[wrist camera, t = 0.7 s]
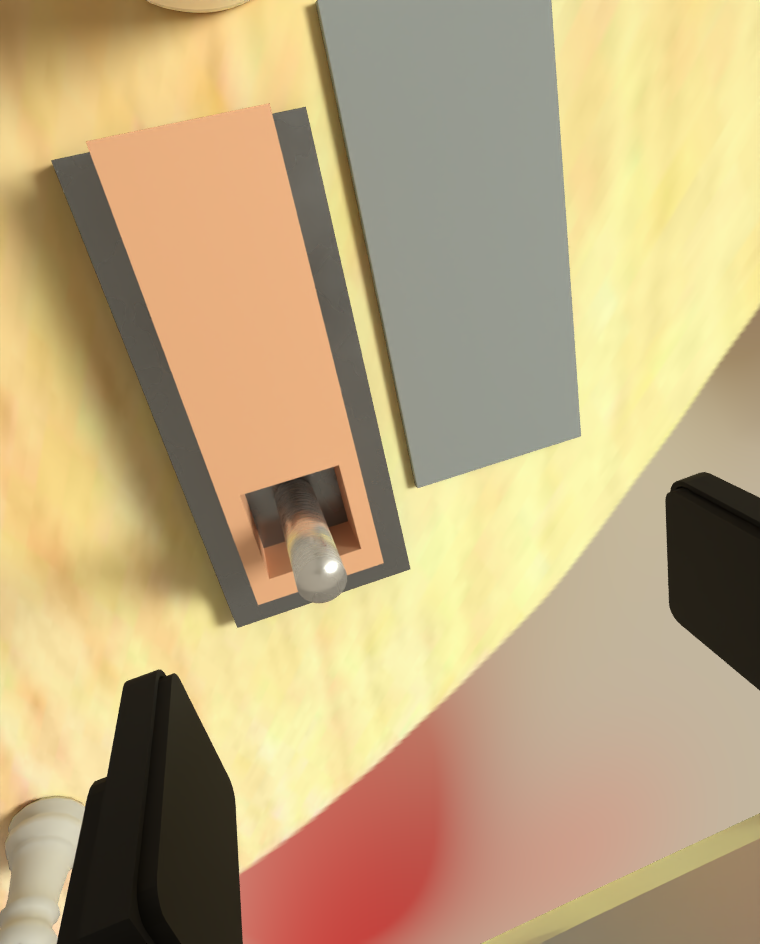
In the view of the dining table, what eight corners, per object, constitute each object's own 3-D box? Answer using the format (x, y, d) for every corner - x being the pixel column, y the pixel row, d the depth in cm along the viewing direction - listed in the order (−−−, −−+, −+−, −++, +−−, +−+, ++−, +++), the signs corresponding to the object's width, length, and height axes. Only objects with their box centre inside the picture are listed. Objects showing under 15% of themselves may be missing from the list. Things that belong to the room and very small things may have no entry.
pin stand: (56, 162, 24) (-19, 134, 16) (302, 110, 25) (347, 61, 17) (236, 617, 34) (246, 741, 26) (405, 560, 35) (464, 661, 27)
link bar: (99, 150, 23) (85, 141, 20) (262, 115, 24) (269, 103, 21) (253, 572, 32) (258, 605, 29) (368, 534, 33) (383, 563, 30)
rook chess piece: (25, 856, 36) (-19, 1013, 29) (-2, 805, 34) (-56, 959, 27) (104, 833, 37) (80, 980, 30) (82, 782, 35) (51, 926, 28)
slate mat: (315, 2, 24) (317, -1, 24) (543, -40, 25) (548, -43, 25) (415, 485, 33) (417, 488, 33) (577, 433, 35) (581, 436, 35)
